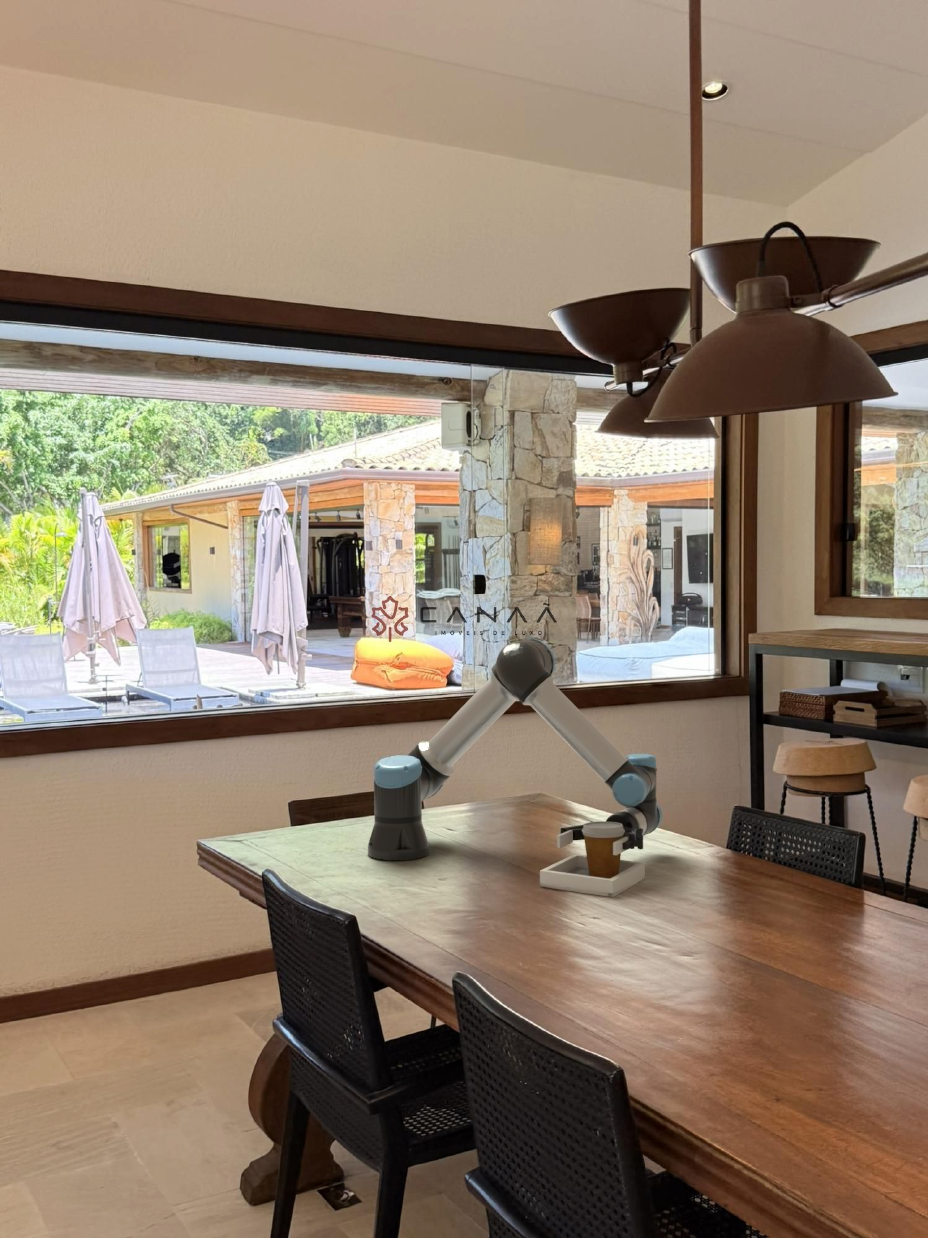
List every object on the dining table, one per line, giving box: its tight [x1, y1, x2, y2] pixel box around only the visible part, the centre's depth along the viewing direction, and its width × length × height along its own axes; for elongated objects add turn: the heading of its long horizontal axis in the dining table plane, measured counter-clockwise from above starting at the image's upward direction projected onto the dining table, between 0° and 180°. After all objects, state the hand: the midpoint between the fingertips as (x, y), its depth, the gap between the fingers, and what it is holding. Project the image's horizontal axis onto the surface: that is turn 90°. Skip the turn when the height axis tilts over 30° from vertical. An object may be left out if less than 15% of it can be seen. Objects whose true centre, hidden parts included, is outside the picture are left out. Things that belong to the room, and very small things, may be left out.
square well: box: [539, 853, 646, 898], centre depth 257 cm, size 17×17×4 cm
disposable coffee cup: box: [582, 820, 625, 879], centre depth 257 cm, size 10×10×12 cm
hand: (586, 845), depth 254 cm, fingers open, 13 cm apart
